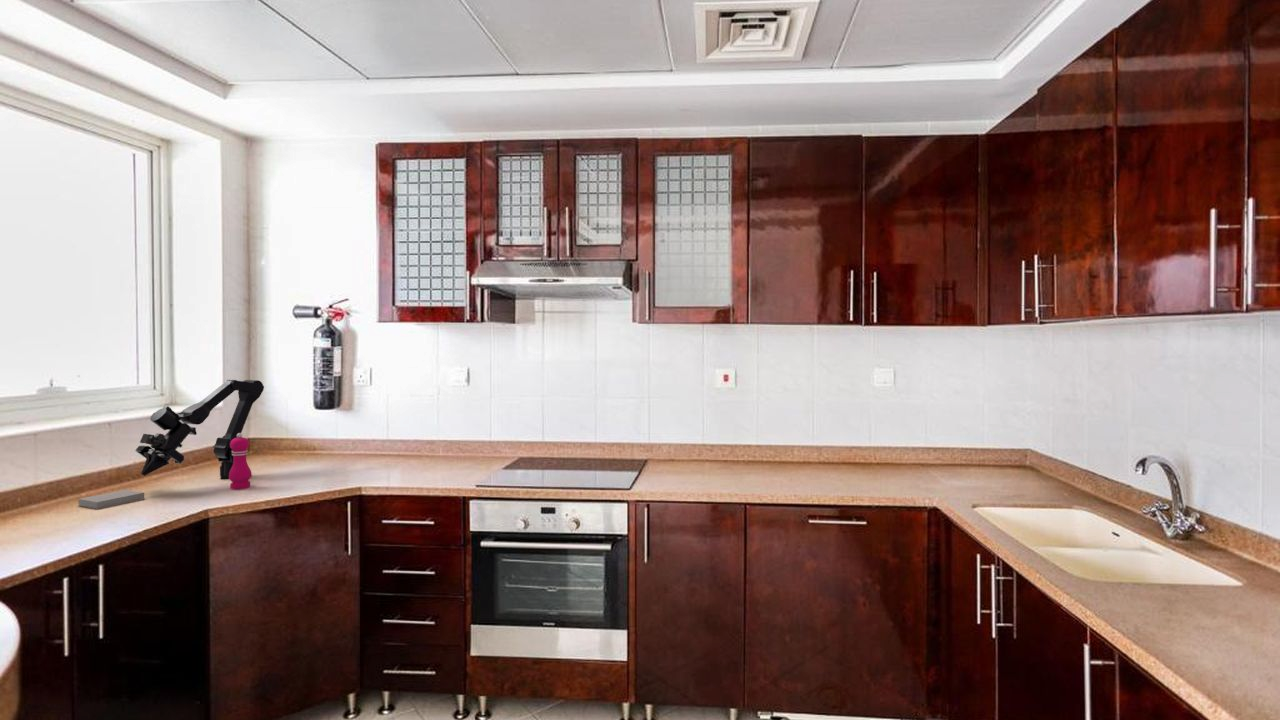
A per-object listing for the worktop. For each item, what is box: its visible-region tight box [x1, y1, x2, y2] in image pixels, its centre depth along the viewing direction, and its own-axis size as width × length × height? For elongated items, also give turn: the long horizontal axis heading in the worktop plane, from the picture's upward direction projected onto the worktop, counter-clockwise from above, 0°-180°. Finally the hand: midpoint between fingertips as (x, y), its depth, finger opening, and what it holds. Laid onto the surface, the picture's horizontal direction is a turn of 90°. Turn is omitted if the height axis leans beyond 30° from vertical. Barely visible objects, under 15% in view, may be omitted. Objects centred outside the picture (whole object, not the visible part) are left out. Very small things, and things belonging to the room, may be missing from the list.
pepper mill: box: [229, 432, 253, 490], centre depth 240 cm, size 7×7×20 cm
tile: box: [77, 489, 145, 510], centre depth 219 cm, size 3×10×14 cm
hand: (142, 474), depth 228 cm, fingers closed
